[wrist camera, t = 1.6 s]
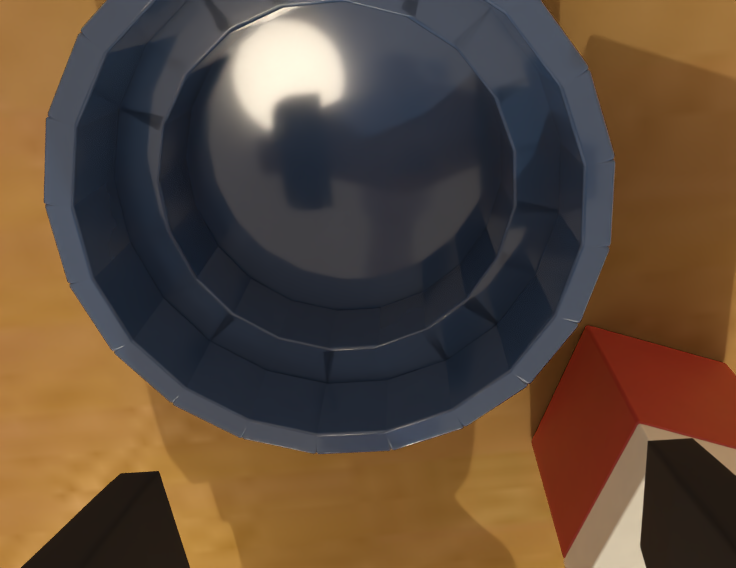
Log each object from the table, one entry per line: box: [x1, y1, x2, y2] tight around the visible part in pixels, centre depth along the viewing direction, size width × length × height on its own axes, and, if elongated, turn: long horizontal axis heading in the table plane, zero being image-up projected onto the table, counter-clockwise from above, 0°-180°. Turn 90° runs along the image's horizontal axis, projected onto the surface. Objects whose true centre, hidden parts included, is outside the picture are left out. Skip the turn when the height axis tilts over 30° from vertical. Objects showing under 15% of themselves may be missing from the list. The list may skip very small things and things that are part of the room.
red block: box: [532, 325, 736, 568], centre depth 18 cm, size 4×4×6 cm
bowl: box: [44, 0, 616, 454], centre depth 16 cm, size 11×11×5 cm
